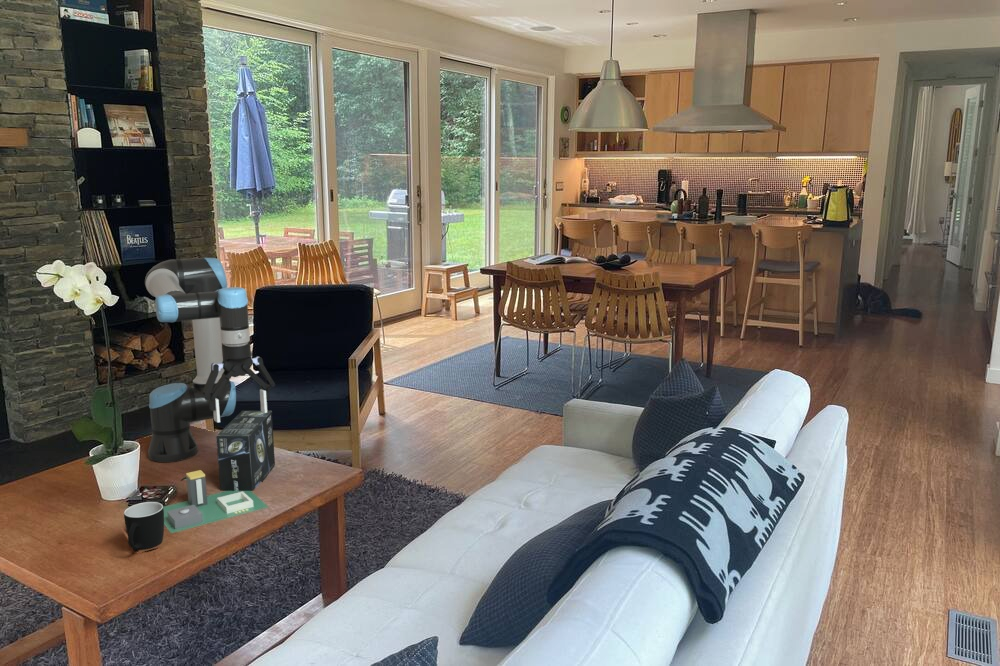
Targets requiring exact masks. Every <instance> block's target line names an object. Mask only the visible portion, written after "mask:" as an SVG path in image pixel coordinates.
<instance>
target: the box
mask: <svg viewBox="0 0 1000 666" xmlns="http://www.w3.org/2000/svg"><path fill="white" fill-rule="evenodd" d="M215 438H216V449H217V460H218V474H219V475H218V476H219V484H220V485H219V487H220V488H219V489H220V492H225V491H252V492H253V491H255V489H256V488H257V487H258V485H259V484H260V483H264V481H265V480H266V478H267V477H268V476H269V474H270V473H271V471H272V470H273V469H274V468H275V465H276V460H275V459H276V458H275V445H274V443H275V442H274V441H275V440H274V426H273V411H272V410H267V413H264V412H262V411H261V410H241V411H240V412H239V413H238V414H237V415H236V416H235V417H234V418H233V419H232V420H231V421H230V422H229V423H228V424H226V425H225V427H224V428H223V429H222V430H221V431H220V432H219V433H217V434H216V437H215Z"/></svg>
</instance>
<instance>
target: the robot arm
mask: <svg viewBox="0 0 1000 666" xmlns="http://www.w3.org/2000/svg"><path fill="white" fill-rule="evenodd" d="M145 275H146V276H145V279H144V285H145V288H146V290H147V292H148V293H149V294H150V296H152V297H155V300H154V301H155V302H154V303H155V305H154V306H155V314H156V319H157V321H158V322H160V323H176V322H184V321H185V322H186V321H192V330H193V331H192V332H193V342H194V343H193V345H194V355H195V356H194V357H195V364H196V365H195V367H196V377H195V378H194V379H192V386H188V385H187V384H186V383H184V382H174V383H173V382H172V383H168V384H164V385H161V386H158V387H156V388H155V389H153V390H152V391H150V393H149V397H148V400H149V404H148V407H149V410H150V411H149V412H150V423H151V437H150V442H149V446H148V452H147V454H148V459H149V460H150V461H153V462H155V463H172V462H174V463H175V462H179V461H183V460H187V459H190V458H192V457H194V456H196V455H197V453H198V452H199V451H198V444H197V442H196V438H195V437H194V435H193V432H192V430H191V425H190V424H191V423H192V422H193V423H194V422H198V421H199V422H200V421H206V420H212V419H213V420H214V422H215V423H221V418H223V417H229V416H231V415H232V414H233V413H234V412H235V409H236V404H237V390H236V385H235V382H234V381H230V380H231V378H232V377H233V378H239V377H243V376H245V375H247V376H249V377H250V378H251V379H252V380H253V381H255V383H257V384H258V385H259V386H260V387H261V388H260V389H259V400H260V411H262V412H264V413H267V411H268V402H267V401H270V390H271V388H273V387H276V382H275V381H274V380H273V378H272V376H271V375H270V373H269V372H268V370H267V368H266V366H265V365H264V360H263V358H262V357H260V356H258V355H255V357H253V358H252V357H251V356H252V354H251V353H252V351H251V350H252V349H251V344H250V343H249V342H250V341H251V336H250V325H249V324H250V323H249V322H250V321H249V308H248V307H249V305H248V303H249V299H248V297H247V296H248V295H247V290H246V289H245V288H244V287H238V286H231V287H228V281H227V280H228V279H227V276H226V272H225V268H224V266H223V264H222V262H221V260H219V259H218V258H216V257H198V258H197V257H196V258H185V259H183V258H181V259H179V258H178V259H168V260H165V261H161V262H159V263H157V264H156V265H154V266H152V268H151V269H149V271H148V272H147V273H146V274H145ZM253 364H254V365H255V366H256V367H257V369H258V370H259V372H260V374H261V376H262V377H263V378H264V380H265V381H264V380H262V378H260V377H259V376H258V375H257V374H256V373H255V371H254V370H252V369H251V367H252V365H253Z"/></svg>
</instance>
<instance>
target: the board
mask: <svg viewBox="0 0 1000 666" xmlns="http://www.w3.org/2000/svg"><path fill="white" fill-rule="evenodd" d="M266 508H269V505H267V504H266V503H265V502H264V501H263V500H262V499H260V498H259V497H258V496H257V495H256V494H255V492H253V491H220V492H217V493H214V494H208V495H207V505H203V506H199V507H196V506H195V505H190V504H189V502H188V500H185V501H181V502H177V503H172V504H169V505H163V509H164V527H166V529H167V530H168V532H169V533H170V534H174V533H178V532H181V531H185V530H188V529H192V528H195V527H199V526H200V527H201V526H203V525H206V524H207V525H208V524H210V523H215V522H220V521H221V520H226V519H229V518H230V519H231V518H233V517H237V516H242V515H244V514H249V513H252V512H255V511H259V510H263V509H266Z"/></svg>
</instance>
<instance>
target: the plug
mask: <svg viewBox="0 0 1000 666" xmlns="http://www.w3.org/2000/svg"><path fill="white" fill-rule="evenodd" d="M185 475H186V476H185V477H186V480H185V481H186V488H187V490H186V491H187V499H188V500H187V501H188V502H189V504H190V505H195V506H196V507H199V506H203V505H207V496H208V495H207V494H208V493H207V481H206V473H204V472H203V471H202V470H201V469H199V470H194V471H191V472H190V471H189V472H186V473H185Z"/></svg>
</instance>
